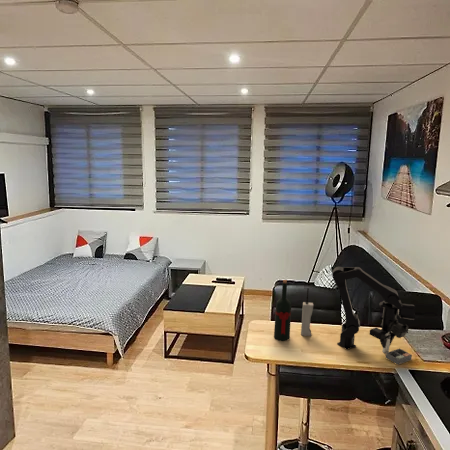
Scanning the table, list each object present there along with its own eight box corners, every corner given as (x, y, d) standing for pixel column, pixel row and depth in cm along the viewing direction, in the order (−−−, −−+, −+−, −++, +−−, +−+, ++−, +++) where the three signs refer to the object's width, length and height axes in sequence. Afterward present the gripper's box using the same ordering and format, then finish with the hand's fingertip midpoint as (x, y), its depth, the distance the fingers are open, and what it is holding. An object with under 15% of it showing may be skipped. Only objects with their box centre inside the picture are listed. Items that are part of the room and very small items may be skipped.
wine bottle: (274, 342, 188) (277, 284, 183) (273, 333, 198) (276, 277, 193) (290, 343, 188) (294, 285, 182) (288, 334, 198) (292, 278, 192)
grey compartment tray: (397, 364, 171) (398, 359, 171) (385, 357, 177) (386, 352, 176) (411, 359, 176) (412, 354, 175) (398, 353, 181) (399, 347, 181)
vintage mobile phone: (311, 336, 196) (314, 289, 191) (301, 335, 197) (304, 289, 192) (310, 333, 199) (314, 287, 195) (301, 332, 200) (304, 286, 196)
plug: (386, 354, 180) (388, 336, 178) (380, 351, 183) (382, 333, 181) (390, 352, 182) (392, 335, 180) (384, 349, 184) (386, 332, 182)
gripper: (391, 326, 167) (387, 359, 170) (417, 318, 176) (414, 350, 179) (370, 317, 177) (367, 348, 180) (396, 310, 186) (393, 340, 189)
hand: (386, 347), depth 182 cm, fingers closed on plug, 3 cm apart
